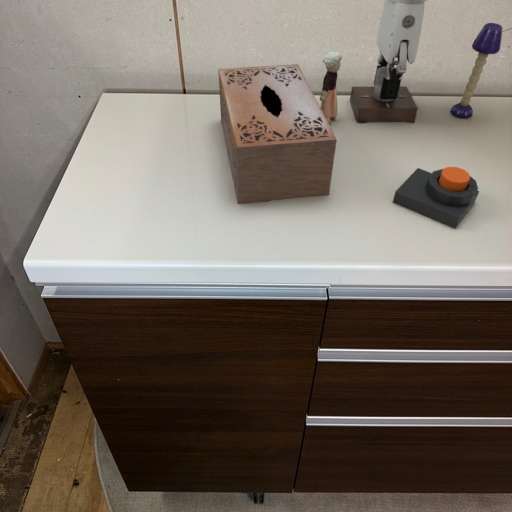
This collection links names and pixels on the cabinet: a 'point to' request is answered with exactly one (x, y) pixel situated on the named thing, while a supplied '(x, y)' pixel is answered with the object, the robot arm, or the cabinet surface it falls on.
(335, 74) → the grandmother figurine
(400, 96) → the dimmer panel
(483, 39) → the toy lamp
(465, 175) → the lamp switch
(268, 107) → the tissue box cover
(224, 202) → the cabinet surface
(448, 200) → the switch block
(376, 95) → the dimmer knob
